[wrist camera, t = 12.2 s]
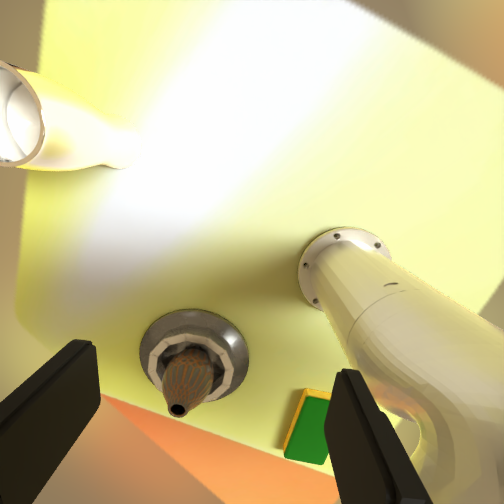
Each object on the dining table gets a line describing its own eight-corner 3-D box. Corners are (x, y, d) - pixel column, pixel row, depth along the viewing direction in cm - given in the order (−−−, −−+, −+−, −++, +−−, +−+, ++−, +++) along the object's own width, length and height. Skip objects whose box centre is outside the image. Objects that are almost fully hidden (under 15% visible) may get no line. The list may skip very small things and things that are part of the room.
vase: (173, 376, 40) (151, 430, 31) (171, 339, 38) (147, 386, 29) (216, 378, 40) (206, 433, 31) (217, 342, 38) (205, 389, 29)
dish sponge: (345, 394, 42) (350, 407, 39) (319, 451, 46) (323, 466, 44) (304, 385, 41) (306, 398, 39) (282, 444, 46) (283, 458, 43)
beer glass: (105, 180, 32) (-18, 184, 18) (78, 123, 30) (-87, 75, 16) (155, 161, 31) (67, 150, 17) (129, 101, 29) (6, 30, 15)
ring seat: (259, 321, 37) (259, 333, 35) (237, 406, 42) (235, 423, 40) (146, 298, 37) (137, 309, 34) (137, 387, 42) (128, 403, 39)
